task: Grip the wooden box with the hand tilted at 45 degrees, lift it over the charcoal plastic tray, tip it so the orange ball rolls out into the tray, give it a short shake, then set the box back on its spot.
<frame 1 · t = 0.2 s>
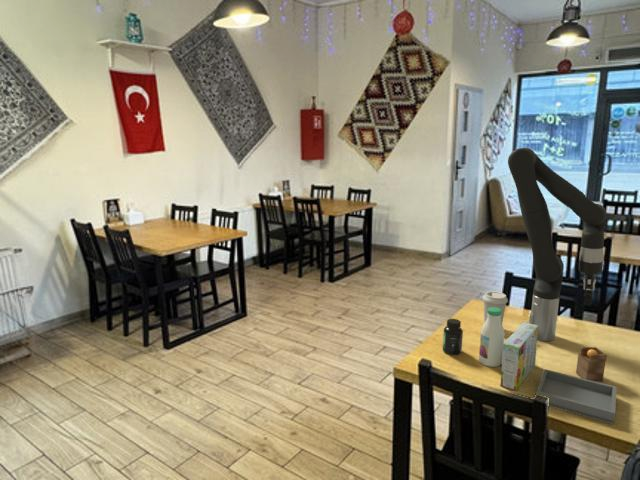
hand: (588, 301, 170), 18 cm above the table, tool pointing down, fingers open, 8 cm apart
tray: (575, 399, 139), on the table
snack box: (517, 375, 154), on the table
coffee cup: (492, 329, 189), on the table
supplement bottle: (451, 351, 171), on the table
wooden box: (588, 377, 152), on the table, touching ball
ball: (592, 354, 150), point 8 cm above the table, touching wooden box
milk bottle: (490, 362, 162), on the table
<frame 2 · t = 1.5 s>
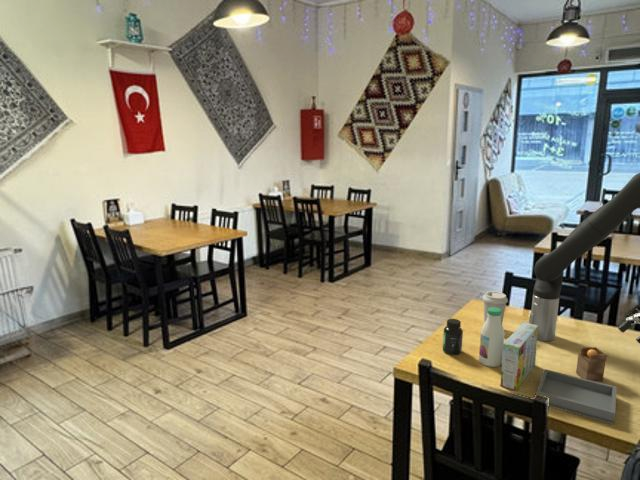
hand: (629, 336, 149), 14 cm above the table, tool tilted 45°, fingers open, 8 cm apart
nothing on the table moved.
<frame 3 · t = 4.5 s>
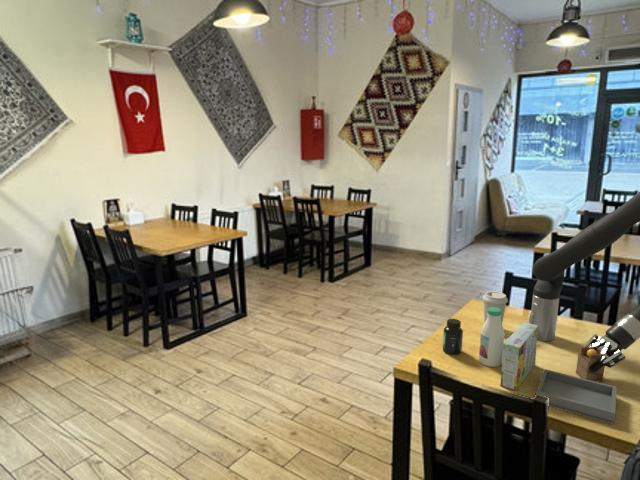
hand: (585, 365, 151), 4 cm above the table, tool tilted 45°, fingers closed on wooden box, 5 cm apart
wooden box: (588, 377, 152), on the table, touching ball, gripper
everything else where it was.
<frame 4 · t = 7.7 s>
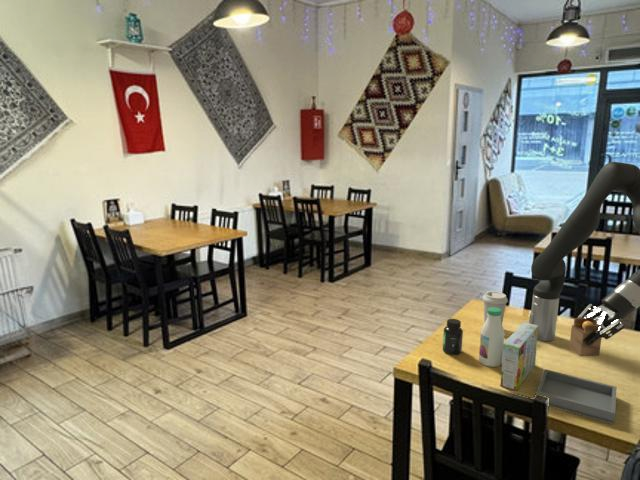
hand: (579, 338, 135), 20 cm above the table, tool tilted 45°, fingers closed on wooden box, 5 cm apart
wooden box: (583, 351, 136), point 16 cm above the table, touching ball, gripper
ball: (588, 326, 133), point 24 cm above the table, tilted 30°, touching wooden box
everything else where it was.
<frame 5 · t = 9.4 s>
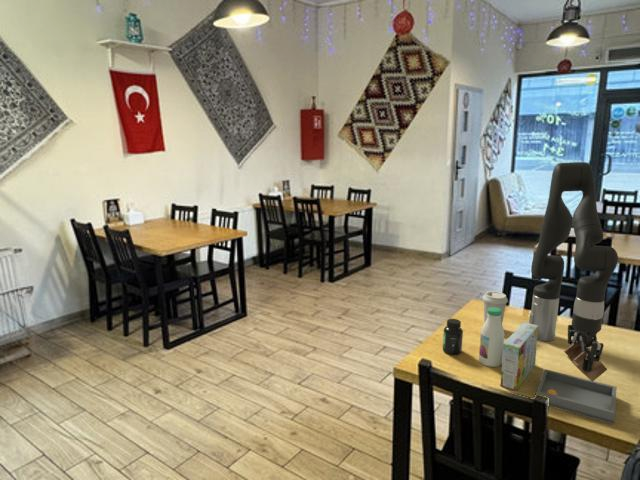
hand: (580, 365, 137), 11 cm above the table, tool pointing down, fingers closed on wooden box, 5 cm apart
wooden box: (594, 370, 137), point 10 cm above the table, tilted 45°, touching gripper
ball: (551, 394, 138), point 2 cm above the table, tilted 44°, touching tray
everything else where it was.
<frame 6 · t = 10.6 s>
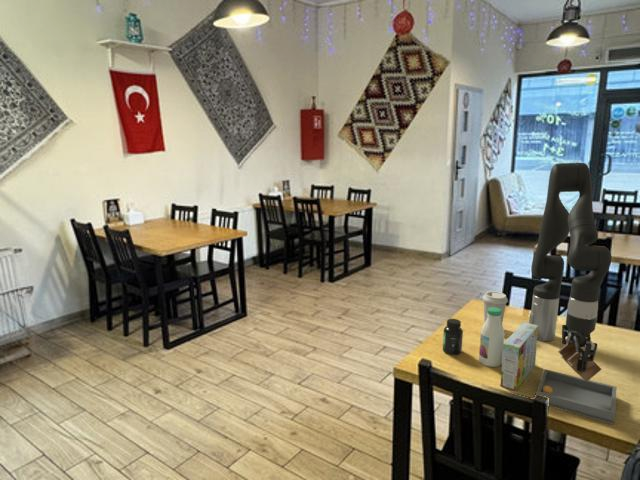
hand: (574, 365, 137), 12 cm above the table, tool pointing down, fingers closed on wooden box, 5 cm apart
wooden box: (588, 370, 137), point 10 cm above the table, tilted 45°, touching gripper
ball: (547, 390, 140), point 2 cm above the table, tilted 53°, touching tray
everything else where it was.
when the fingers open (6 cm above the table, at t = 15.6 s): wooden box drops 1 cm, on the table.
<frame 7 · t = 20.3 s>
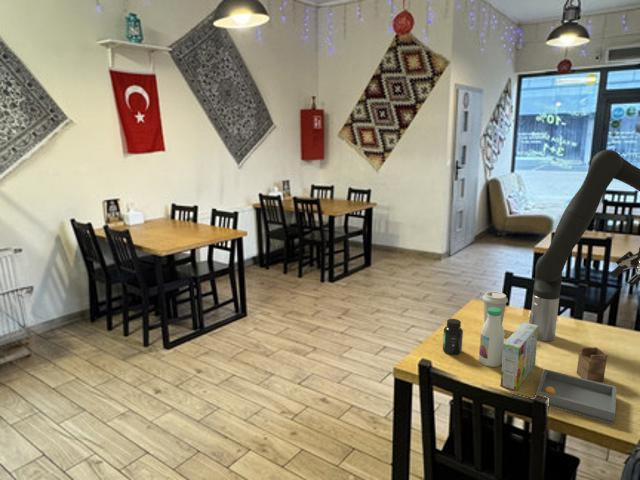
hand: (620, 280, 154), 31 cm above the table, tool tilted 45°, fingers open, 8 cm apart
wooden box: (589, 377, 152), on the table
ball: (550, 391, 139), point 2 cm above the table, tilted 25°, touching tray
everything else where it was.
at the end: ball inside the target area on the tray (7.8 cm from its centre), point 2.5 cm above the tray's base; wooden box tilted 0°; wooden box inside the target area (0.2 cm from its centre), on the table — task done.
